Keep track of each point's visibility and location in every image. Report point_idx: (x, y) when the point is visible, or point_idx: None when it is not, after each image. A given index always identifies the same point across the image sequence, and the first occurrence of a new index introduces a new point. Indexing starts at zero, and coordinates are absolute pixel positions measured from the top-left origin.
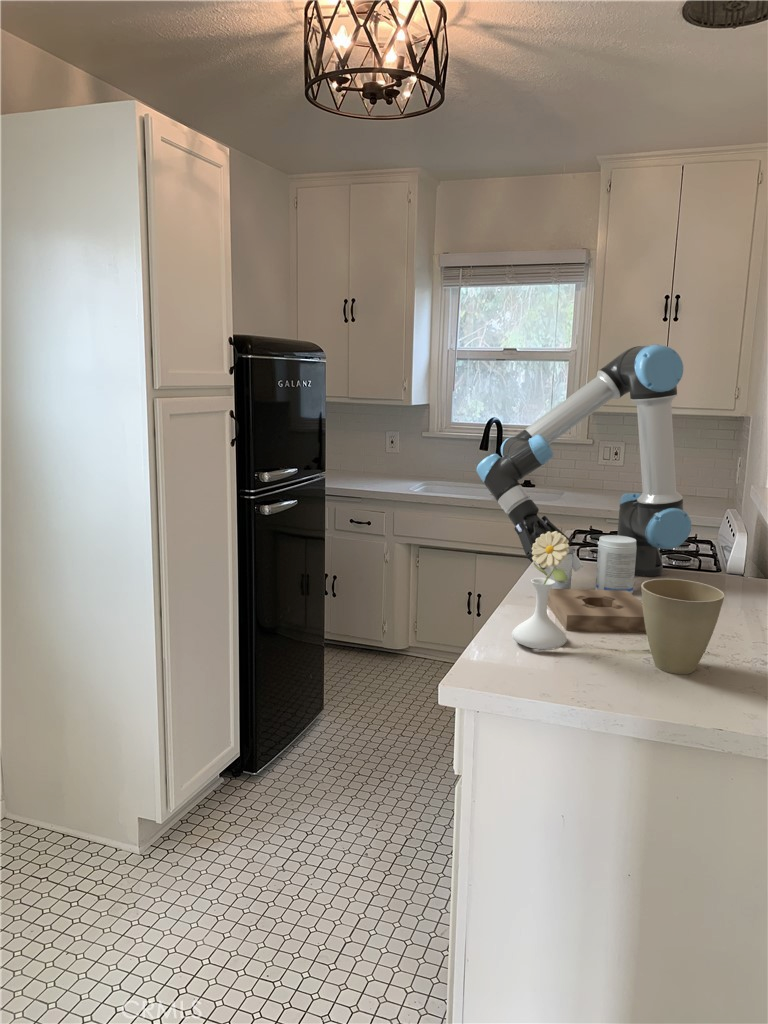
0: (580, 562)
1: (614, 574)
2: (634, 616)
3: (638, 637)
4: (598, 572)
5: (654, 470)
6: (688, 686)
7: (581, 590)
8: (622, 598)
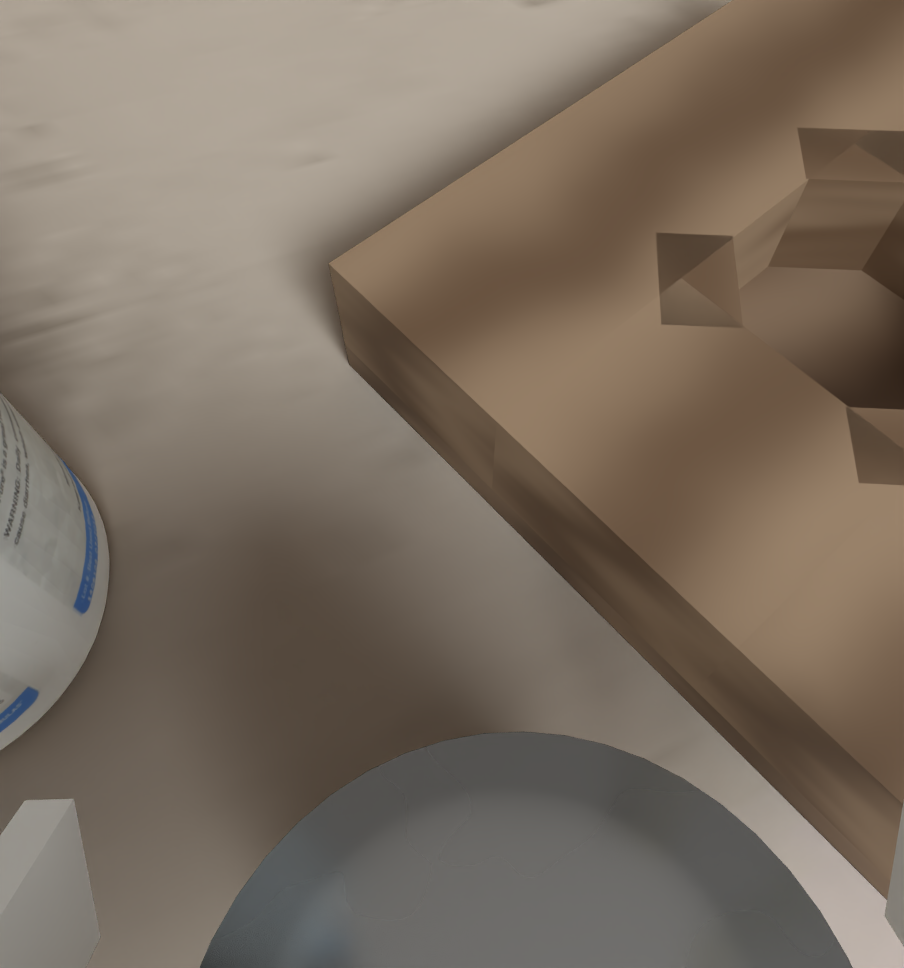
0: (25, 848)
1: (9, 439)
2: None
3: None
4: None
5: None
6: None
7: (692, 553)
8: (604, 210)
